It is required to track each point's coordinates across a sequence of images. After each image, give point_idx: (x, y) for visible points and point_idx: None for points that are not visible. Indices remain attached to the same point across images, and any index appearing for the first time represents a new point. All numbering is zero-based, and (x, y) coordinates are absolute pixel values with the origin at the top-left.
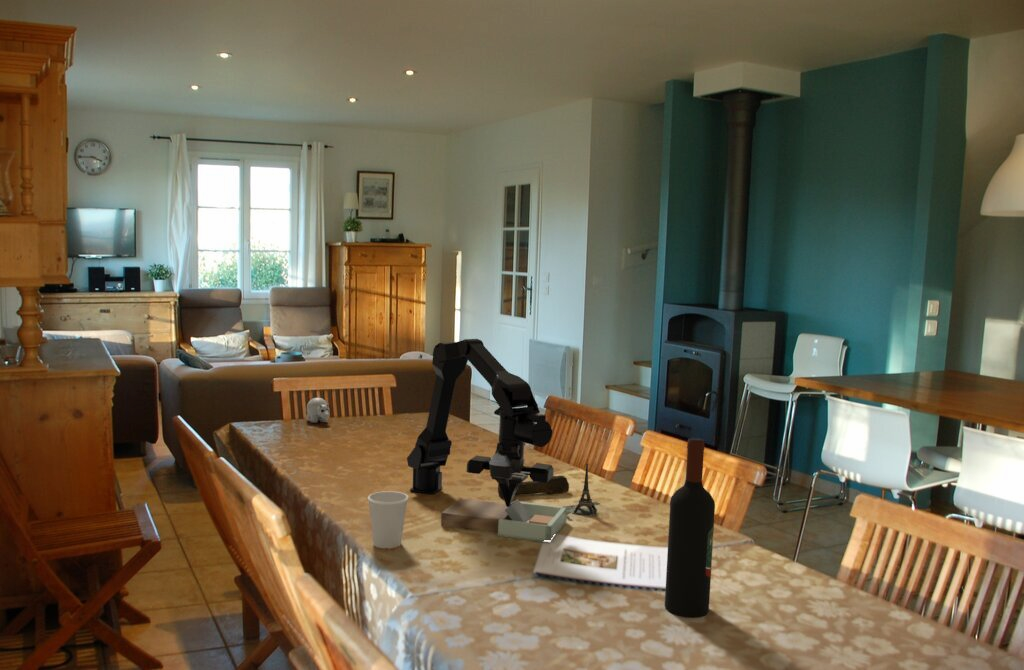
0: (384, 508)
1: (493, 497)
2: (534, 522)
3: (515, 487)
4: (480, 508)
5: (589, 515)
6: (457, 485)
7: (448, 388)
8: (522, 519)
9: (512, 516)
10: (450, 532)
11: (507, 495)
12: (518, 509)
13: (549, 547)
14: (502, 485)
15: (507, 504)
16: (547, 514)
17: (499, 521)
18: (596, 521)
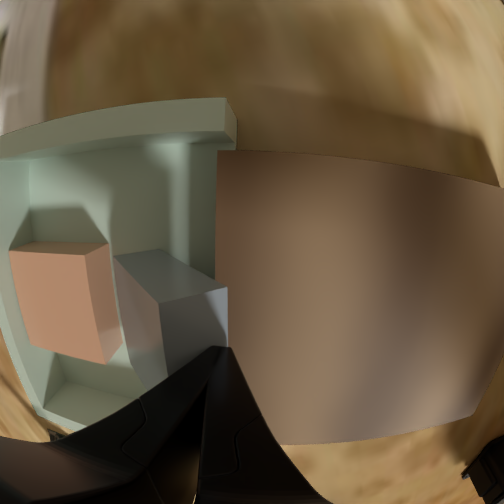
0: None
1: (347, 498)
2: (64, 253)
3: (70, 439)
4: (405, 346)
5: (56, 433)
6: (427, 499)
7: None
8: (119, 265)
9: (174, 270)
10: (459, 117)
11: (205, 400)
12: (141, 330)
13: (23, 102)
14: (253, 482)
15: (218, 353)
16: (99, 403)
17: (219, 100)
18: (22, 395)
